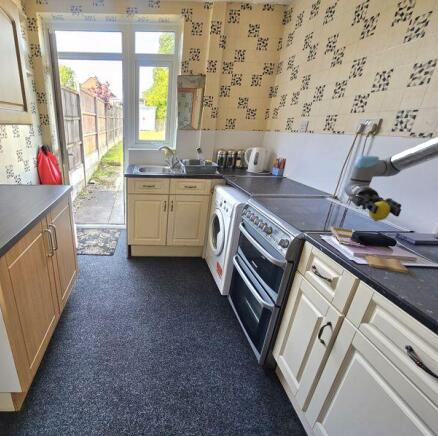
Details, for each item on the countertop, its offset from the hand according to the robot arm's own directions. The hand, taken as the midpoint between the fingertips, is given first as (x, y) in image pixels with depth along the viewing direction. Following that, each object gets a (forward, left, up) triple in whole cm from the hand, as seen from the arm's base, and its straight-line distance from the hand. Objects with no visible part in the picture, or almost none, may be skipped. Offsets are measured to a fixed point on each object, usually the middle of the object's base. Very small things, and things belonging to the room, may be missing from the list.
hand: (387, 211), depth 86 cm
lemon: (0, -5, -6) cm, 8 cm away
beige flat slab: (+3, -16, -18) cm, 24 cm away
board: (-3, +5, -18) cm, 19 cm away
